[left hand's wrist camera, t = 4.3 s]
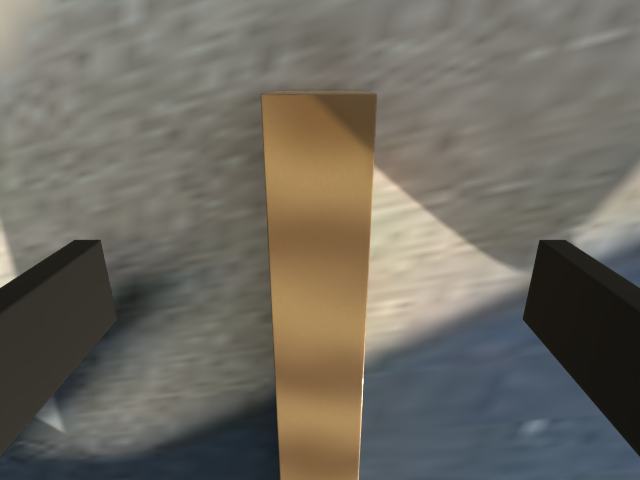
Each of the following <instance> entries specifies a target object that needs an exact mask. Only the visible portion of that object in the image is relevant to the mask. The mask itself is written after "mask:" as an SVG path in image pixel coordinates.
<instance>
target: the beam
mask: <svg viewBox="0 0 640 480" xmlns="http://www.w3.org/2000/svg"><path fill="white" fill-rule="evenodd" d="M261 106H262V126H263V146H264V166H265V186H266V205H267V225H268V245H269V265H270V285H271V305H272V324H273V344H274V364H275V384H276V404H277V424H278V443H279V463H280V480H358V478H359V457H360V437H361V416H362V396H363V375H364V354H365V334H366V313H367V293H368V272H369V251H370V231H371V210H372V189H373V169H374V148H375V128H376V107H377V94H374V93H369V92H365V91H273V92H269V93H264V94H261Z"/></svg>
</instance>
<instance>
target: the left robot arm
mask: <svg viewBox="0 0 640 480" xmlns="http://www.w3.org/2000/svg"><path fill="white" fill-rule="evenodd" d="M116 320H117V315H116V311H115V306H114V301H113V297H112V292H111V287H110V283H109V278H108V273H107V269H106V264H105V259H104V255H103V250H102V245H101V240H74V241H72V242H71V243H69V244H68V245H66V246H65V247H63V248H62V249H60V250H58V251H57V252H55V253H54V254H52V255H51V256H49V257H48V258H46V259H45V260H43V261H41V262H40V263H38V264H37V265H35V266H34V267H32V268H31V269H29V270H28V271H26V272H24V273H23V274H21V275H20V276H18V277H17V278H15V279H14V280H12V281H11V282H9V283H7V284H6V285H4V286H3V287H1V288H0V456H1V455H2V454H3V453H4V452H5V450H6V449H7V448H8V447H9V446H10V445H11V443H12V442H13V441H14V440H15V439H16V438H17V436H18V435H19V434H20V433H21V432H22V430H23V429H24V428H25V427H26V426H27V425H28V423H29V422H30V421H31V420H32V419H33V418H34V416H35V415H36V414H37V413H38V412H39V411H40V409H41V408H42V407H43V406H44V405H45V403H46V402H47V401H48V400H49V399H50V398H51V396H52V395H53V394H54V393H55V392H56V391H57V389H58V388H59V387H60V386H61V385H62V384H63V382H64V381H65V380H66V379H67V378H68V376H69V375H70V374H71V373H72V372H73V371H74V369H75V368H76V367H77V366H78V365H79V364H80V362H81V361H82V360H83V359H84V358H85V357H86V355H87V354H88V353H89V352H90V351H91V349H92V348H93V347H94V346H95V345H96V344H97V342H98V341H99V340H100V339H101V338H102V337H103V335H104V334H105V333H106V332H107V331H108V330H109V328H110V327H111V326H112V325H113V324H114V323H115V321H116ZM523 320H524V321H525V323H526V324H527V325H528V326H529V327H530V328H531V330H532V331H533V332H534V333H535V334H536V335H537V337H538V338H539V339H540V340H541V341H542V342H543V344H544V345H545V346H546V347H547V348H548V350H549V351H550V352H551V353H552V354H553V355H554V357H555V358H556V359H557V360H558V361H559V362H560V364H561V365H562V366H563V367H564V368H565V369H566V371H567V372H568V373H569V374H570V375H571V376H572V378H573V379H574V380H575V381H576V382H577V384H578V385H579V386H580V387H581V388H582V389H583V391H584V392H585V393H586V394H587V395H588V396H589V398H590V399H591V400H592V401H593V402H594V403H595V405H596V406H597V407H598V408H599V409H600V411H601V412H602V413H603V414H604V415H605V416H606V418H607V419H608V420H609V421H610V422H611V423H612V425H613V426H614V427H615V428H616V429H617V430H618V432H619V433H620V434H621V435H622V436H623V438H624V439H625V440H626V441H627V442H628V443H629V445H630V446H631V447H632V448H633V449H634V450H635V452H636V453H637V454H638V455H639V456H640V288H639V287H637V286H636V285H634V284H633V283H631V282H629V281H628V280H626V279H625V278H623V277H622V276H620V275H619V274H617V273H616V272H614V271H612V270H611V269H609V268H608V267H606V266H605V265H603V264H602V263H600V262H599V261H597V260H595V259H594V258H592V257H591V256H589V255H588V254H586V253H585V252H583V251H582V250H580V249H578V248H577V247H575V246H574V245H572V244H571V243H569V242H568V241H566V240H539V245H538V250H537V255H536V259H535V264H534V269H533V273H532V278H531V283H530V287H529V292H528V297H527V301H526V306H525V311H524V315H523Z"/></svg>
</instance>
